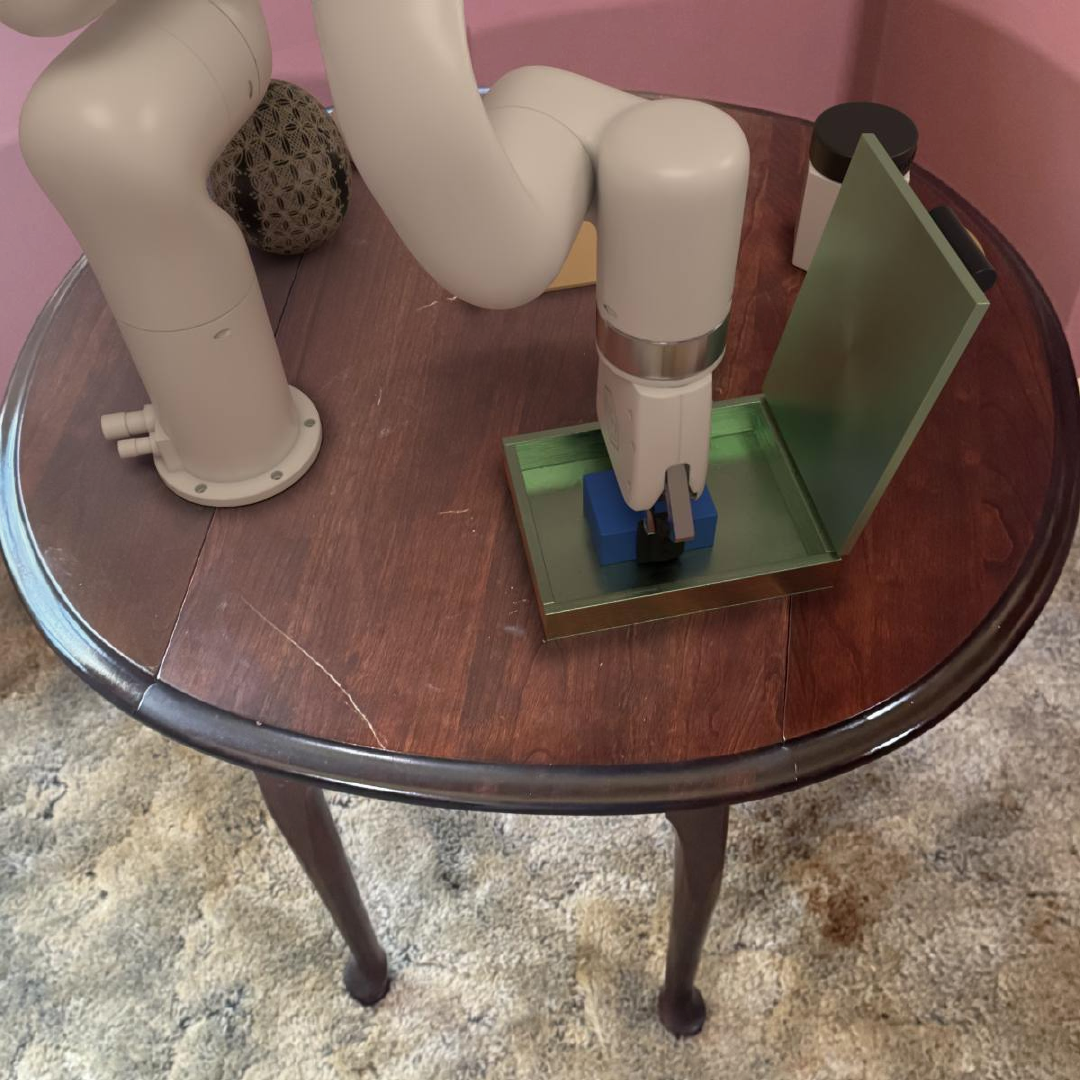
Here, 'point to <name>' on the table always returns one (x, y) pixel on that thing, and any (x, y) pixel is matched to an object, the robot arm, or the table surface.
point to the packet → (633, 518)
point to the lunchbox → (698, 574)
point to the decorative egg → (285, 173)
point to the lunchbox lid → (872, 338)
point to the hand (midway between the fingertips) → (647, 519)
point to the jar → (844, 163)
